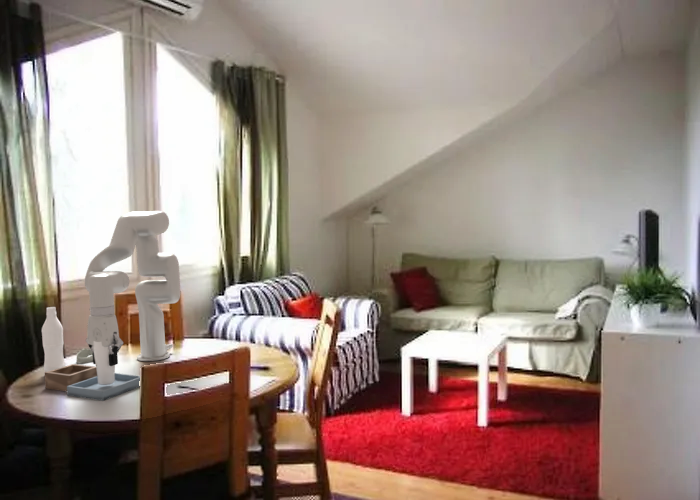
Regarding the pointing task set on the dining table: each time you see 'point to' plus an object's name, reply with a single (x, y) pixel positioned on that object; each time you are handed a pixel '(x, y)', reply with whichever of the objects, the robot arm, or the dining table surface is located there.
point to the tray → (103, 387)
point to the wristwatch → (84, 356)
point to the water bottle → (52, 341)
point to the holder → (68, 376)
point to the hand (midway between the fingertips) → (105, 363)
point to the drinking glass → (103, 364)
